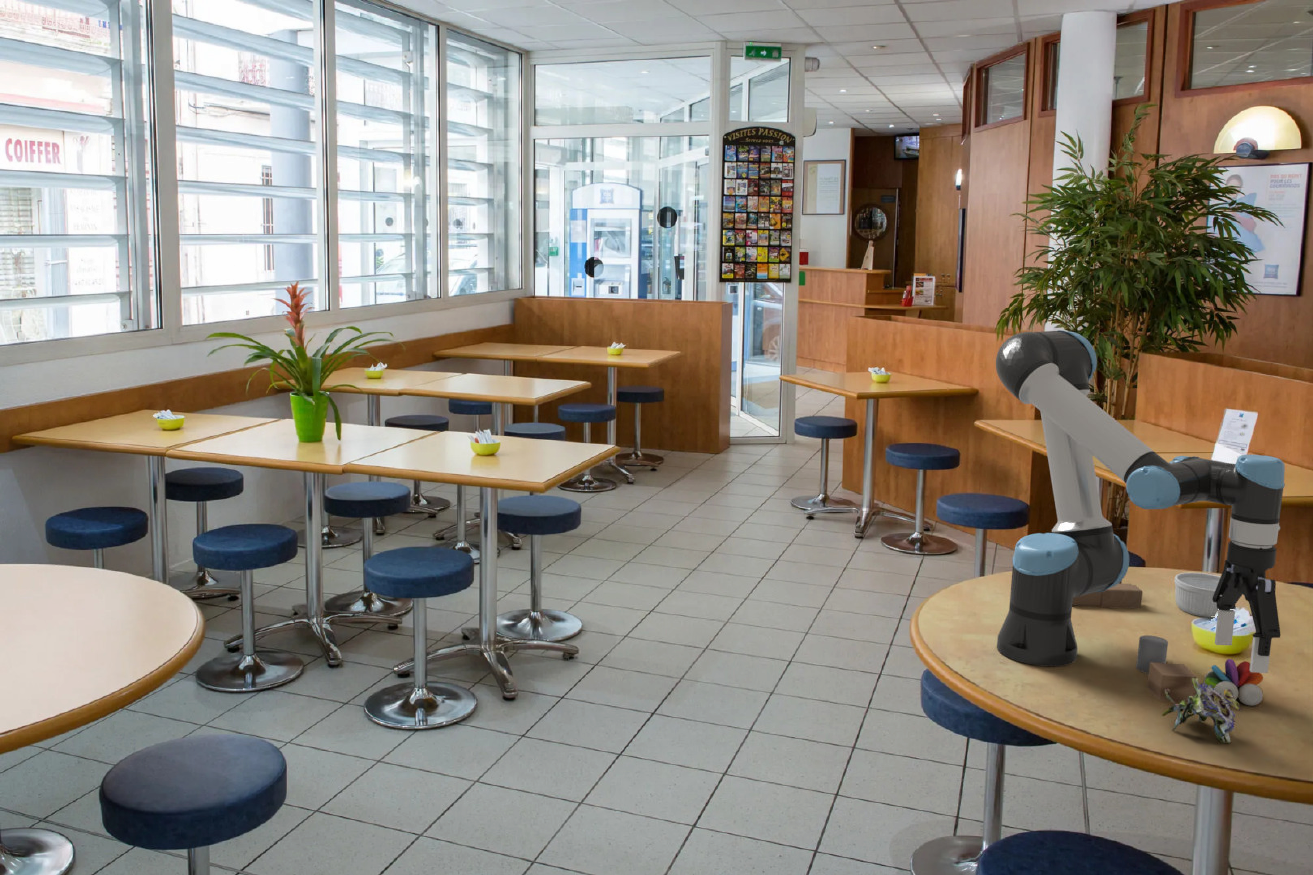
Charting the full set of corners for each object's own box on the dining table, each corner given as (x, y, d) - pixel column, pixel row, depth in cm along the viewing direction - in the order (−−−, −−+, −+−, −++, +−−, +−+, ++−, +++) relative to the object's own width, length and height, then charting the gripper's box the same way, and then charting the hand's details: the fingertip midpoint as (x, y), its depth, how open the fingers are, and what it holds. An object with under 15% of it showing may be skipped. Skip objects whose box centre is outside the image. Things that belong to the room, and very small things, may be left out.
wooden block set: (1147, 586, 240) (1067, 584, 241) (1145, 610, 241) (1065, 607, 242) (1118, 564, 257) (1043, 561, 258) (1115, 586, 258) (1041, 584, 259)
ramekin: (1246, 622, 234) (1249, 592, 233) (1182, 618, 236) (1185, 588, 235) (1224, 603, 247) (1227, 574, 245) (1164, 599, 249) (1167, 570, 247)
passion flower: (1219, 771, 177) (1245, 736, 168) (1150, 747, 180) (1172, 712, 171) (1225, 715, 184) (1250, 678, 175) (1158, 693, 187) (1179, 656, 178)
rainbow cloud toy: (1269, 710, 188) (1274, 671, 187) (1210, 704, 190) (1214, 666, 189) (1253, 691, 197) (1257, 654, 195) (1196, 686, 198) (1200, 649, 197)
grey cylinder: (1141, 673, 203) (1145, 644, 202) (1132, 663, 208) (1135, 634, 207) (1168, 675, 203) (1172, 645, 202) (1158, 665, 208) (1161, 636, 207)
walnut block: (1159, 701, 191) (1162, 675, 190) (1146, 687, 197) (1149, 662, 196) (1193, 703, 191) (1197, 677, 190) (1180, 689, 197) (1183, 664, 196)
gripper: (1312, 563, 175) (1298, 685, 179) (1241, 526, 200) (1229, 634, 203) (1265, 561, 176) (1251, 683, 179) (1200, 525, 201) (1189, 633, 204)
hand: (1240, 657), depth 191 cm, fingers open, 13 cm apart
